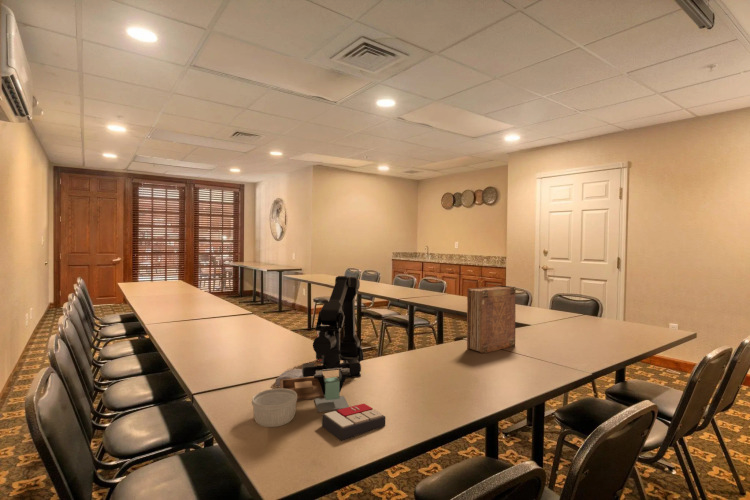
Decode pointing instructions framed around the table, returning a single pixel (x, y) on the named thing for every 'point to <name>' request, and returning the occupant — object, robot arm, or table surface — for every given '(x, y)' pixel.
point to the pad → (331, 404)
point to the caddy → (303, 387)
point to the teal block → (332, 388)
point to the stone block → (289, 375)
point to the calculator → (352, 421)
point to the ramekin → (274, 407)
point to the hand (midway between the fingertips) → (331, 393)
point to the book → (490, 318)
